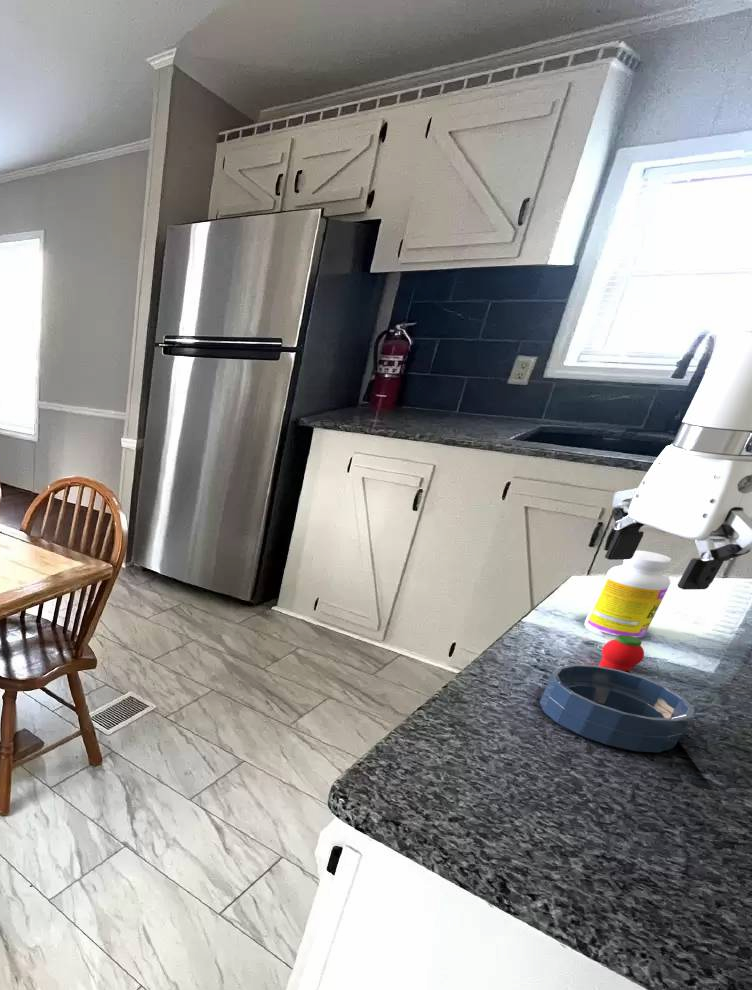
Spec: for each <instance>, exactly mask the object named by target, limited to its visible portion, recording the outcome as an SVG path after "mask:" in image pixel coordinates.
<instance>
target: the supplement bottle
mask: <svg viewBox="0 0 752 990" xmlns="http://www.w3.org/2000/svg"><path fill="white" fill-rule="evenodd" d="M671 562H672V558H670V557H669V556H667V555H664V554H660V553H658V552H653V551H648V550H638V549H636V551H635V553H634V555H633V557H632V558H631V559H625V560H623V563H622V565H621V564H620V565H616V566H613V567H611V568H610V569H608V571H607V573H606V575H605V577H604V579H603V582H602V583H601V586H600V588H599V590H598V593H597V595H596V597H595V599H594V601H593V603H592V605H591V607H590V609H589V612H588V614H587V616H586V619H585V621H584V626H585V628H586V629H587V630H588V631H589V632H591V633H593V634H595V635H597V636H600V637H603V638H605V636H604V633H605V634H608V635H612V636H616V637H617V636H618V635H627V636H632V637H635V638H637V639H638V638H642V637H644V636H645V634H647V631H648V630H649V627H650V625H651V623H652V622H653V620H654V617H655V615H656V613H657V611H658V609H659V607H660V605H661V603H662V601H663V599H664V597H665V595H666V593H667V591H668V589H669V588H670V585H671V580H670V578H669V577H668V575H666V574H665V573H664V572H665V571H666V570H667V569H668V568H669V567H670V565H671Z"/></svg>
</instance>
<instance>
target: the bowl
mask: <svg viewBox="0 0 752 990" xmlns="http://www.w3.org/2000/svg"><path fill="white" fill-rule="evenodd" d="M539 705H540V706H541V709H542V711H543V713H544V714H545V715H547V716H548V717H549V718H550V719H551V720H553V721H554V722H555V723H556V724H558V725H559V726H562V727H563V728H566V729H568V730H569V731H571V732H573V733H575V734H577V735H580V736H582V737H584V738H586V739H589V740H591V741H594V742H597V743H601V744H604V745H607V746H610V747H615V748H619V749H624V750H628V751H632V752H645V753H662V752H665V751H669V750H670V751H671V750H674V748H675V747H676V745H677V743H678V742H679V740H680V739H681V736H682V735H683V733H684V731H685V730H686V728H687V726H688V725H689V723H690V721H691V720H692V718H693V715H694V713H695V708H694V707H693V705H692V704H691V703H690V701H689V700H688V699H687V698H686V697H684V696H682V695H681V694H679V693H677V692H676V691H675V690H673V689H671V688H670V687H668V686H665V685H663V684H661V683H658V682H656V681H653V680H651V679H650V678H647V677H644V676H640V675H638V674H633V673H631V672H630V673H627V672H624V671H621V670H617V669H611V668H606V667H600V666H599V665H594V664H576V663H575V664H574V663H572V664H566V665H560V666H557V667H556V668H555V669H554V671H553V672H552V673H551V676H550V678H549V680H548V682H547V684H546V686H545V688H544V691H543V693H542V695H541V698H540V700H539Z"/></svg>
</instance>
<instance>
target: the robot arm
mask: <svg viewBox="0 0 752 990" xmlns="http://www.w3.org/2000/svg"><path fill="white" fill-rule="evenodd" d="M612 507H613V509H611V515H612V518H613V520H614V523H613V525H612V527H613V528H612V529H614V530H615V531H616V532H615V534H614V536H613V538H612V540H611V542H610V545H609V547H608V549H607V550H606V553H605V555H604V558H605V559H607V560H613V561H614V560H615V561H616V560H619V561H620V560H623V561H624V560H625V559H631V558H632V557H633V555H634V553H635V551H636V550H638V547H639V545H640V543H641V542H642V539H643V537H644V533H645V531H643V530H641V529H643V528H645V527H650V528H653V529H656V530H660V531H663V532H666V533H668V534H671V535H675V536H678V537H681V538H683V539H688V540H692V541H694V545H695V547H696V548H695V549H696V552H697V554H698V557H693V558H691V559H690V561H689V563H688V564H687V566H686V568H685V570H684V572H683V574H682V575H681V578H680V579H679V581H678V583H677V587H678V588H679V589H681V590H688V591H689V590H706V589H708V588H709V587H710V585H711V584H712V583H713V581H714V579H715V578H716V576H717V574H718V572H719V571H720V569H721V567H722V565H723V564H724V563H725V562H730V561H732V560H733V559H735V558H737V557H741V556H743V555H746V554H749V553H750V551H751V549H752V328H745V329H740V330H735V331H733V332H731V333H729V334H727V335H726V336H725V337H724V338H723V339H722V340H721V342H720V343H719V345H718V347H717V349H716V351H715V353H714V355H713V357H712V359H711V361H710V363H709V365H708V368H707V369H706V371H705V373H704V375H703V378H702V380H701V382H700V384H699V386H698V388H697V390H696V392H695V394H694V396H693V398H692V400H691V403H690V404H689V407H688V408H687V411H686V412H685V415H684V417H683V419H682V421H681V423H680V426H679V427H678V429H677V432H676V433H675V436H674V438H673V439H672V443H671V444H670V445H666V446H665V448H664V449H662V451H661V452H660V454H659V455H658V456H657V458H656V459H655V460H654V461H653V464H652V465H651V466H650V467H649V469H648V471H647V472H646V474H645V475H644V477H643V479H642V480H641V482H640V484H639V486H638V487H637V488H632V489H627V490H622V491H621V490H620V491H617V492H616V491H615V492H614V493H613V494H612ZM733 540H734V542H732V543H731V541H733Z"/></svg>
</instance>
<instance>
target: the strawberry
mask: <svg viewBox="0 0 752 990" xmlns="http://www.w3.org/2000/svg"><path fill="white" fill-rule="evenodd" d="M642 643H643V641H642V640H641V639H639V638H638V637H637V638H635V637H632V636H627V635H618V636H616V638H614V639H611V640H609V641H607V642H606V643H605V644H604V645H603V647H602V649H601V655H602V658H601V660H600V662H599V664H598V666H600V667H606V668H611V669H617V670H621V671H624V672H627V673H631V671H632V670H634V668H635V666H636V665H638V664H640V663H641V662H642V661H643V660H644V657H645V650H644V649H643V646H642Z"/></svg>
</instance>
